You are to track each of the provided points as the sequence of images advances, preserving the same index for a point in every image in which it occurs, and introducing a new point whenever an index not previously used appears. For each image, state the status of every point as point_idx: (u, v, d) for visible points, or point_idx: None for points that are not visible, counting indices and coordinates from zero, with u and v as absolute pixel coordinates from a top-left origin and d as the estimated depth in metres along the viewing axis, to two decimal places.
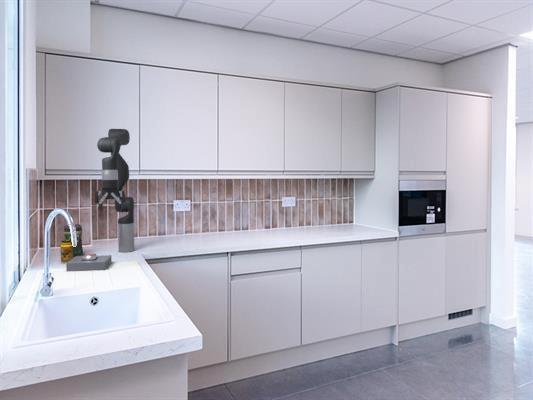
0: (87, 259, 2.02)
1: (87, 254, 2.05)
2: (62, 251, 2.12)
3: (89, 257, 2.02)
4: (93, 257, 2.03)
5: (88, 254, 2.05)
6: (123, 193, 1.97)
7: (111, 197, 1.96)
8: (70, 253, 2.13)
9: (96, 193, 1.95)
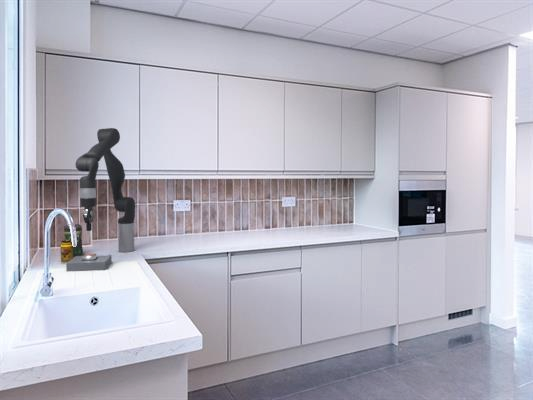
0: (87, 259, 2.02)
1: (87, 254, 2.05)
2: (62, 251, 2.12)
3: (89, 257, 2.02)
4: (93, 257, 2.03)
5: (88, 254, 2.05)
6: (93, 213, 2.08)
7: None
8: (70, 253, 2.13)
9: (88, 215, 1.98)
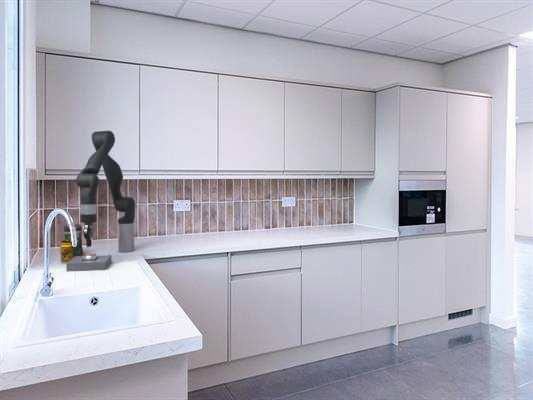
0: (87, 259, 2.02)
1: (87, 254, 2.05)
2: (62, 251, 2.12)
3: (89, 257, 2.02)
4: (93, 257, 2.03)
5: (88, 254, 2.05)
6: (93, 229, 2.09)
7: None
8: (70, 253, 2.13)
9: (88, 232, 1.99)
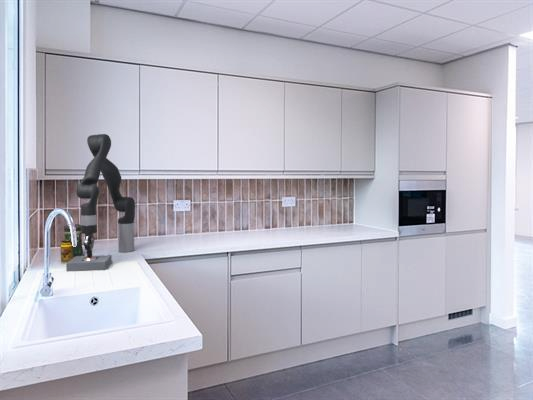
0: None
1: (87, 257, 2.05)
2: (62, 251, 2.12)
3: (89, 260, 2.02)
4: (94, 259, 2.03)
5: None
6: None
7: None
8: (70, 253, 2.13)
9: (89, 243, 1.99)
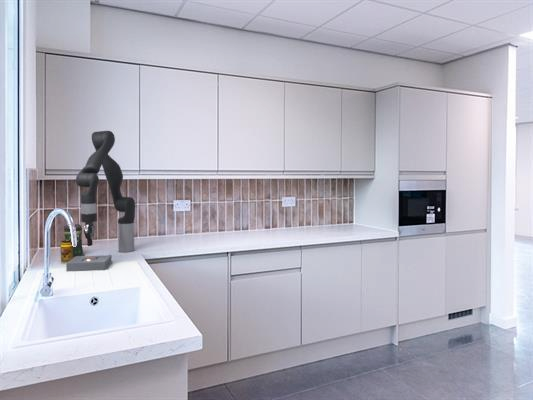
0: None
1: (87, 258, 2.05)
2: (62, 251, 2.12)
3: None
4: None
5: (88, 258, 2.05)
6: (94, 228, 2.09)
7: None
8: (70, 253, 2.13)
9: (89, 231, 1.99)
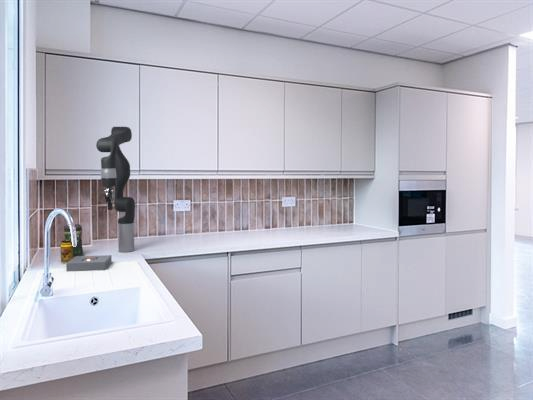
0: None
1: (87, 258, 2.05)
2: (62, 251, 2.12)
3: None
4: None
5: (88, 258, 2.05)
6: None
7: None
8: (70, 253, 2.13)
9: (109, 195, 2.05)
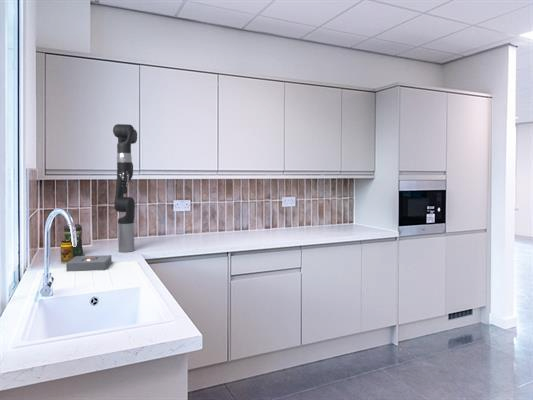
0: None
1: (87, 258, 2.05)
2: (62, 251, 2.12)
3: None
4: None
5: (88, 258, 2.05)
6: None
7: None
8: (70, 253, 2.13)
9: (125, 178, 2.11)
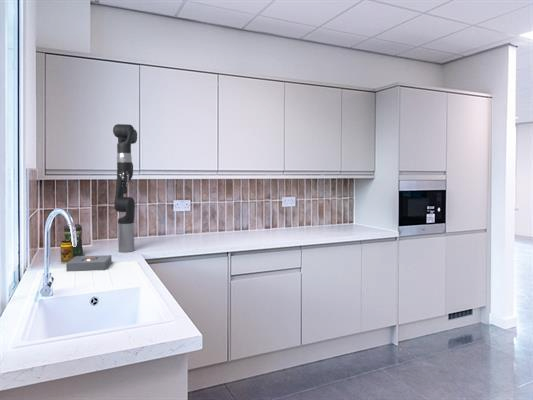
0: None
1: (87, 258, 2.05)
2: (62, 251, 2.12)
3: None
4: None
5: (88, 258, 2.05)
6: None
7: None
8: (70, 253, 2.13)
9: (125, 178, 2.11)
